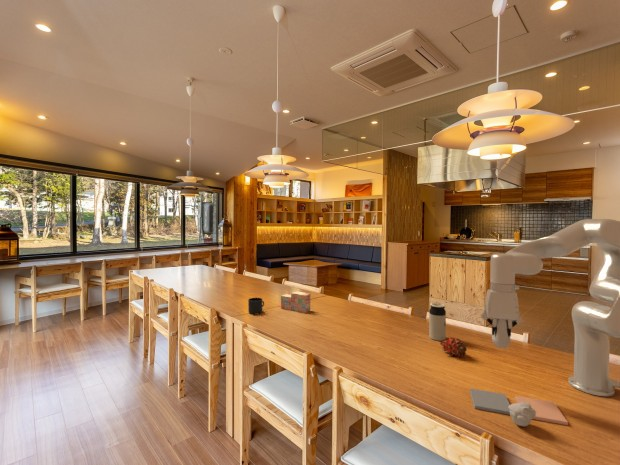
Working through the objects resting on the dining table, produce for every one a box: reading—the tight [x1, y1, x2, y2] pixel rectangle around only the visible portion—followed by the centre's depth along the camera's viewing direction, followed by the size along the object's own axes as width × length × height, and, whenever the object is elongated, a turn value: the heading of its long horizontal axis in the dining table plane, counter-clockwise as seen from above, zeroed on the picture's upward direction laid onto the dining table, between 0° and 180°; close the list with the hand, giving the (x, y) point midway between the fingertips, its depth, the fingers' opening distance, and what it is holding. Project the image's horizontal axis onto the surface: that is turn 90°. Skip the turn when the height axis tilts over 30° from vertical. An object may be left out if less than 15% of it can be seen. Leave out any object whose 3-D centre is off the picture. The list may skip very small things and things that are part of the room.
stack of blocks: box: [280, 291, 311, 314], centre depth 217 cm, size 21×6×12 cm, turn 58°
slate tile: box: [469, 388, 511, 416], centre depth 104 cm, size 11×11×1 cm
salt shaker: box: [491, 317, 511, 349], centre depth 112 cm, size 6×6×13 cm
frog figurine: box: [508, 402, 536, 427], centre depth 93 cm, size 6×7×7 cm
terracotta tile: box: [514, 395, 569, 426], centre depth 99 cm, size 11×11×1 cm
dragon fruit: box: [439, 336, 468, 357], centre depth 142 cm, size 8×8×12 cm
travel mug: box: [428, 302, 447, 342], centre depth 161 cm, size 8×8×18 cm
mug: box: [247, 297, 265, 315], centre depth 212 cm, size 9×12×9 cm
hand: (501, 337), depth 112 cm, fingers closed on salt shaker, 3 cm apart
